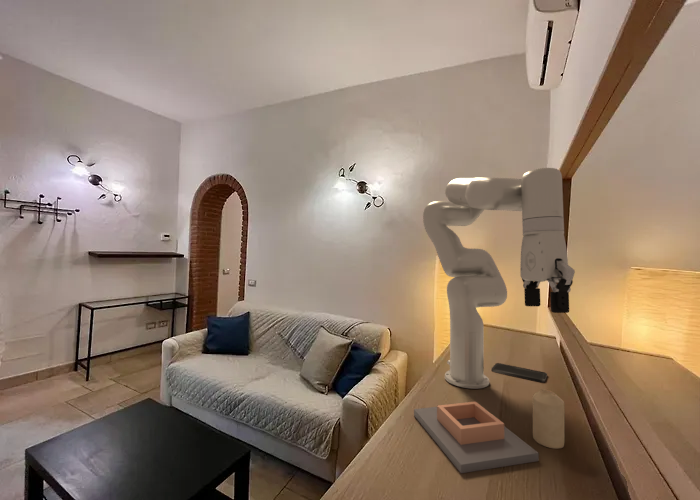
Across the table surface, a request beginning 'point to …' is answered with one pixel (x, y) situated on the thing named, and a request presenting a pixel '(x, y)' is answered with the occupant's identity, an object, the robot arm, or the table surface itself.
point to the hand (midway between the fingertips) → (545, 309)
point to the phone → (520, 372)
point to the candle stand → (474, 437)
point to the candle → (548, 419)
